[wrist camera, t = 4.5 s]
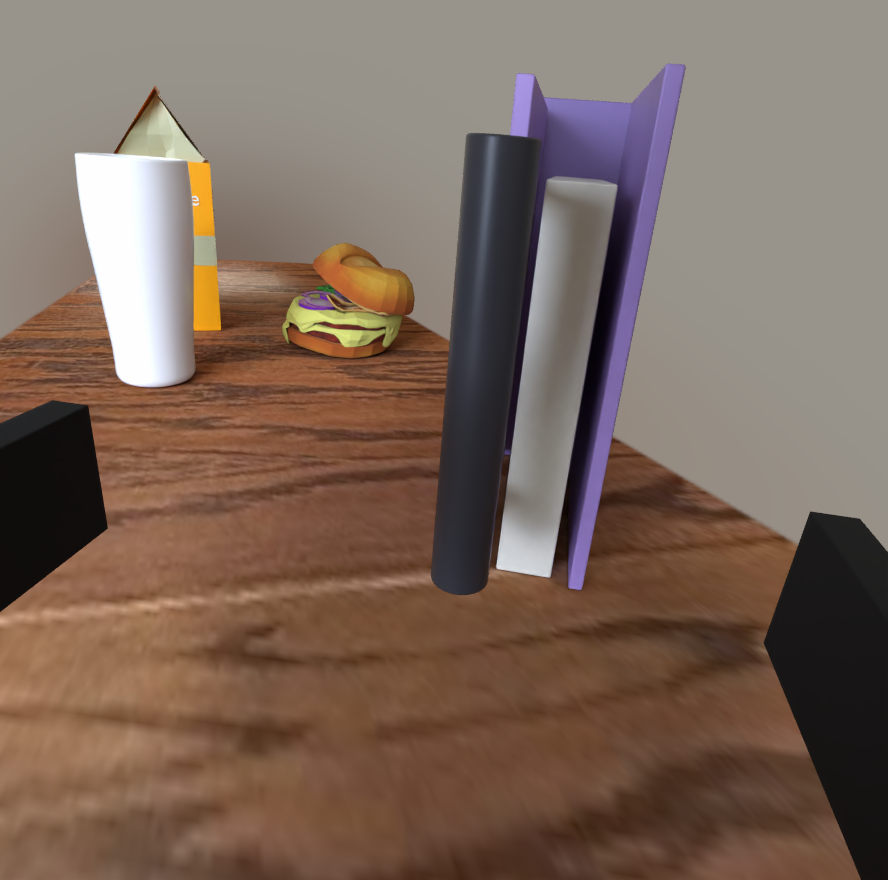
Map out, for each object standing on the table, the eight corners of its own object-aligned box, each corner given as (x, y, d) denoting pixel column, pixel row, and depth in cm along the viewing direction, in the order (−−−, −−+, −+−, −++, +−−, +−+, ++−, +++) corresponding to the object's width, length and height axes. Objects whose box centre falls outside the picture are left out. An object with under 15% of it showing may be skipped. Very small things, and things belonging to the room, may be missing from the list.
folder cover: (516, 453, 38) (562, 108, 31) (476, 658, 22) (552, 42, 15) (483, 449, 39) (521, 106, 31) (420, 647, 22) (467, 37, 15)
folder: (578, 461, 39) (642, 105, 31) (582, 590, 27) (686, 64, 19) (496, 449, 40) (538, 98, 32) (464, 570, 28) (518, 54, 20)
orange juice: (219, 309, 68) (204, 96, 60) (222, 330, 60) (206, 90, 52) (138, 309, 65) (111, 87, 57) (131, 331, 57) (99, 79, 49)
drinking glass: (90, 391, 43) (52, 151, 37) (125, 362, 50) (98, 152, 44) (193, 395, 44) (172, 161, 38) (215, 366, 50) (200, 160, 44)
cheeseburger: (291, 326, 63) (316, 225, 59) (396, 359, 64) (426, 262, 60) (266, 354, 53) (293, 235, 50) (388, 392, 55) (424, 279, 51)
